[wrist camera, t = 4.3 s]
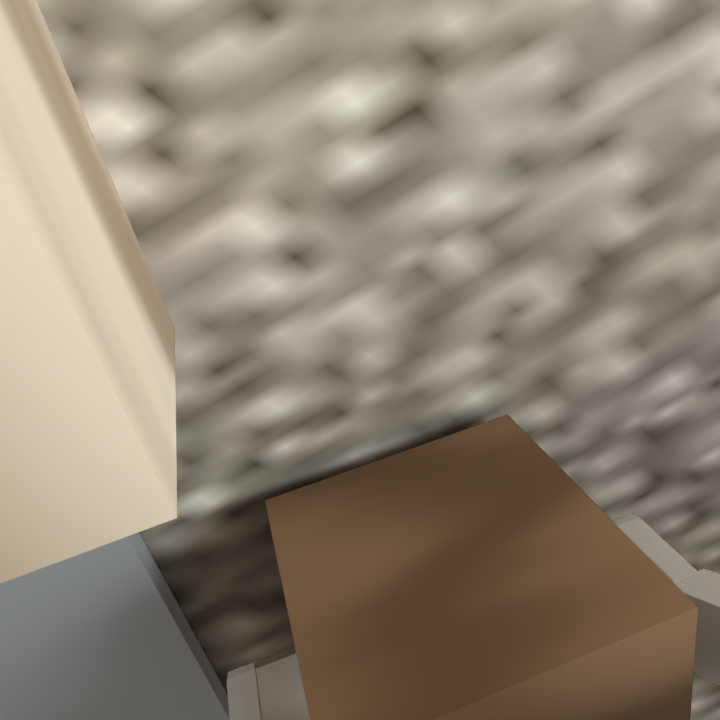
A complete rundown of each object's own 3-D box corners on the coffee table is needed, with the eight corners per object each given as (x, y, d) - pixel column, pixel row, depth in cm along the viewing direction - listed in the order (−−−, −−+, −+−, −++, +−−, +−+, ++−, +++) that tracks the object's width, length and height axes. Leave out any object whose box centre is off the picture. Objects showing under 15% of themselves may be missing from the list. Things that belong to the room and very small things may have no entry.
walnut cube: (507, 414, 12) (698, 607, 8) (528, 587, 14) (683, 811, 10) (264, 500, 11) (319, 767, 7) (328, 667, 14) (400, 947, 9)
